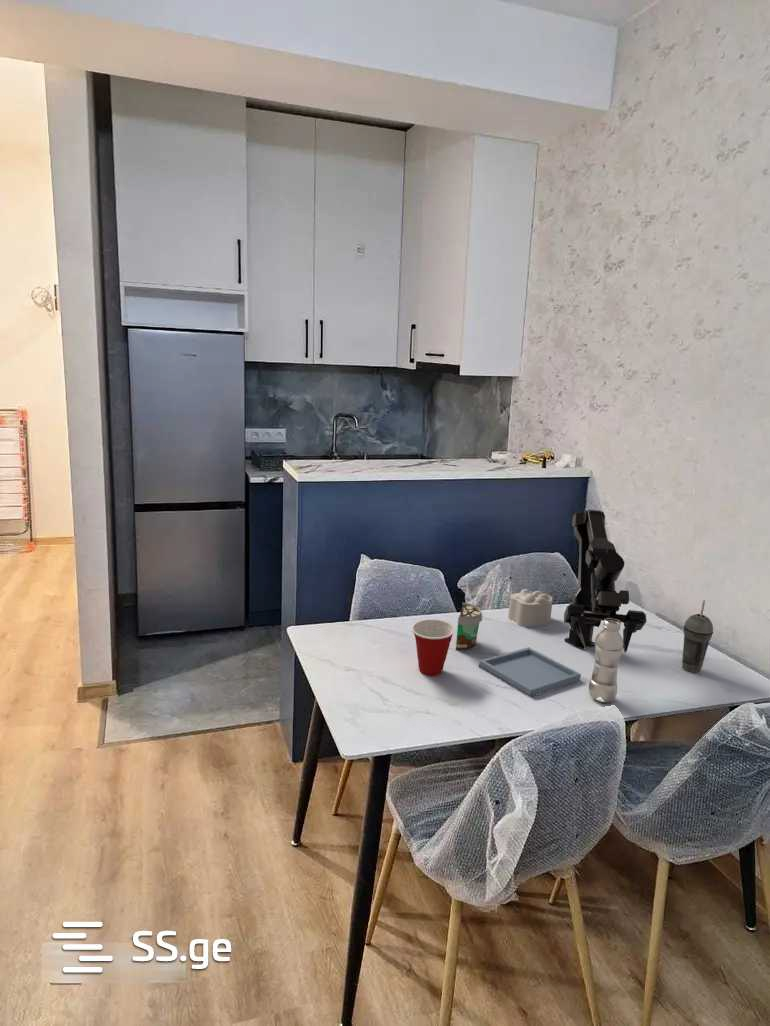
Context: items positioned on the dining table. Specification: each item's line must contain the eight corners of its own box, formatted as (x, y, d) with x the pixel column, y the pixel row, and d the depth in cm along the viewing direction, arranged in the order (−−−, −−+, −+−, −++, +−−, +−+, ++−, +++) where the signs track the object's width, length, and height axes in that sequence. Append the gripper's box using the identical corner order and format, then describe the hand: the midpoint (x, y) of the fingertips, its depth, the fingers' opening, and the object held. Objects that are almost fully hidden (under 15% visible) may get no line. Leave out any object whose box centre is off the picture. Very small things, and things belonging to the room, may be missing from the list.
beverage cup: (704, 666, 189) (717, 597, 184) (707, 678, 182) (720, 606, 177) (675, 661, 191) (687, 592, 186) (677, 672, 184) (689, 601, 180)
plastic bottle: (601, 708, 163) (613, 628, 158) (581, 694, 168) (592, 617, 164) (621, 703, 166) (633, 624, 161) (601, 690, 171) (612, 614, 167)
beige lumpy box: (503, 616, 217) (506, 589, 215) (537, 611, 222) (540, 585, 220) (524, 628, 208) (527, 601, 206) (558, 623, 213) (561, 596, 211)
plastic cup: (399, 667, 177) (402, 623, 174) (431, 658, 183) (435, 615, 180) (427, 685, 168) (431, 638, 166) (460, 674, 175) (464, 630, 172)
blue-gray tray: (527, 653, 190) (528, 647, 190) (579, 680, 176) (580, 674, 175) (478, 666, 180) (479, 660, 180) (529, 697, 166) (530, 690, 165)
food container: (477, 655, 187) (481, 620, 185) (455, 651, 188) (458, 617, 186) (481, 637, 199) (484, 604, 196) (459, 634, 200) (462, 601, 198)
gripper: (571, 572, 169) (572, 632, 161) (650, 580, 167) (655, 641, 159) (563, 593, 179) (563, 650, 170) (638, 600, 177) (642, 658, 169)
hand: (605, 649), depth 167 cm, fingers open, 9 cm apart
